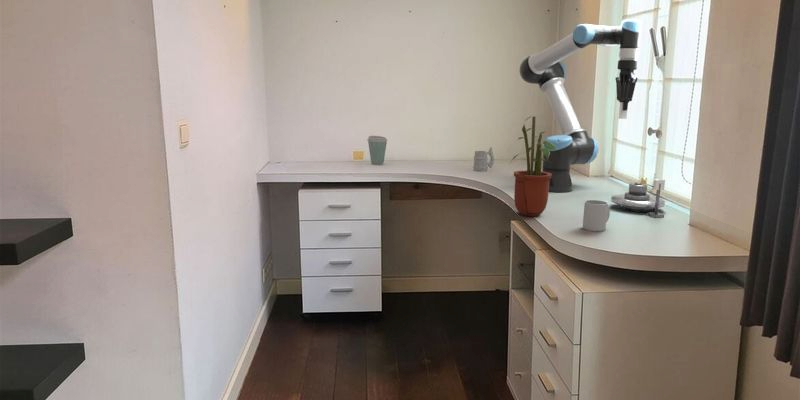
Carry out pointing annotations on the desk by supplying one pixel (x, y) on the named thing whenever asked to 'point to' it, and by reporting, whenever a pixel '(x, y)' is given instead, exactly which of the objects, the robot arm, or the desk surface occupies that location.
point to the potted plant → (532, 177)
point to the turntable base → (636, 209)
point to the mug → (483, 160)
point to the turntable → (638, 204)
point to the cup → (595, 215)
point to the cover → (637, 192)
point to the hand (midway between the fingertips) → (622, 118)
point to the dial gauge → (657, 197)
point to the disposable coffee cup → (377, 149)
